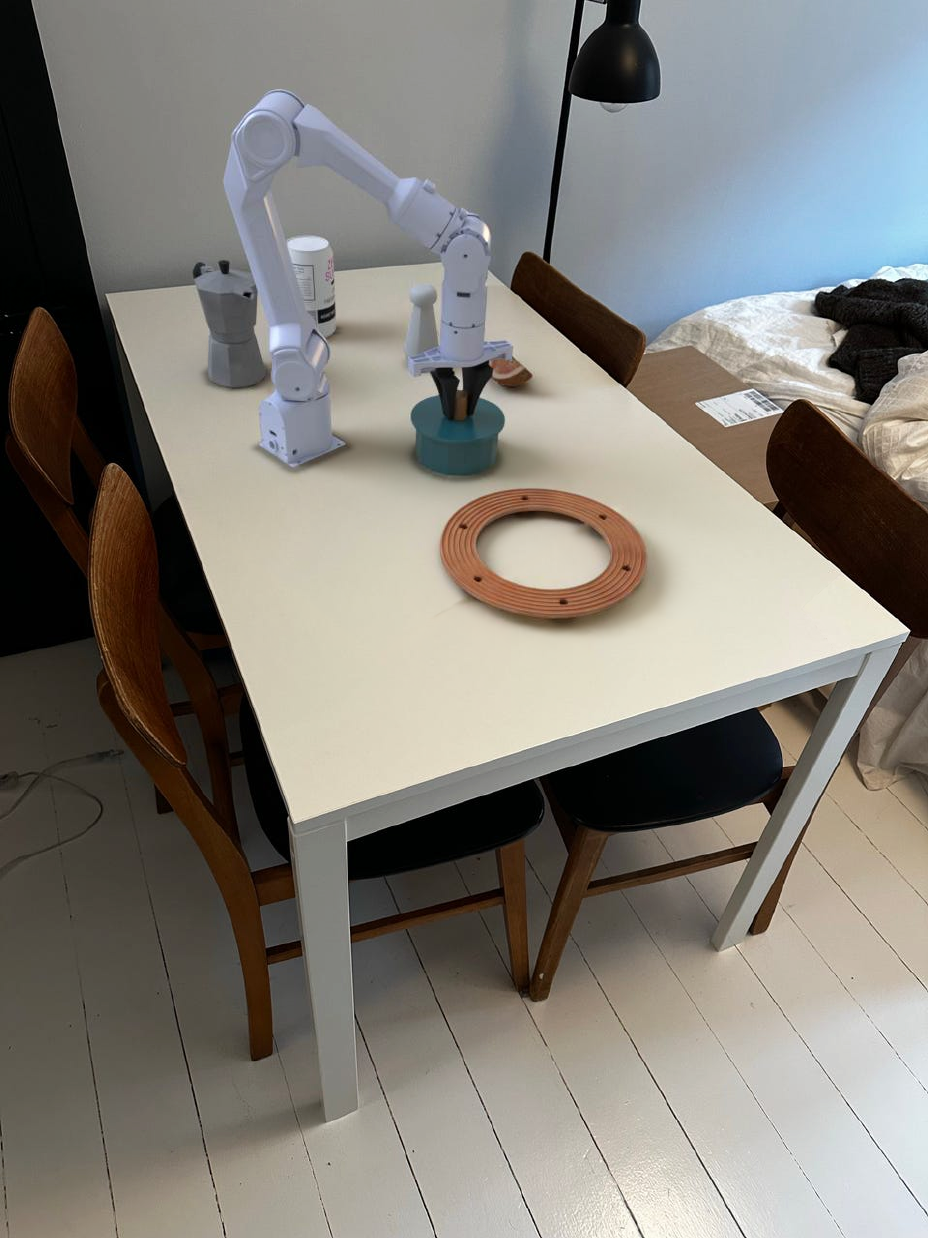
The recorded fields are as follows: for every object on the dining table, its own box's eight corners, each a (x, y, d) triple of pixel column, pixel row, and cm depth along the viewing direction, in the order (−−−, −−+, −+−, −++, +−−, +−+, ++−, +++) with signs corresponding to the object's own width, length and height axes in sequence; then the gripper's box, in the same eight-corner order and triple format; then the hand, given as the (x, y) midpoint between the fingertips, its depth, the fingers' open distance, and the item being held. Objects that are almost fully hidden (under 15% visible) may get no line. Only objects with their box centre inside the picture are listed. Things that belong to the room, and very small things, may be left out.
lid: (503, 451, 124) (505, 421, 121) (405, 443, 124) (406, 413, 121) (505, 404, 133) (508, 375, 130) (415, 397, 134) (415, 368, 131)
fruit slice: (539, 392, 148) (542, 363, 145) (501, 399, 146) (504, 370, 142) (514, 369, 153) (517, 341, 150) (478, 376, 151) (480, 347, 148)
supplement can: (282, 325, 162) (274, 236, 152) (327, 318, 165) (323, 231, 155) (296, 344, 156) (289, 254, 146) (342, 337, 159) (339, 249, 149)
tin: (455, 488, 126) (457, 449, 122) (398, 454, 132) (399, 416, 128) (512, 459, 132) (516, 421, 129) (455, 428, 138) (457, 391, 134)
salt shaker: (423, 376, 150) (425, 297, 142) (396, 364, 153) (396, 286, 144) (445, 363, 154) (449, 286, 145) (419, 353, 156) (420, 276, 148)
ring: (470, 643, 103) (472, 626, 101) (418, 513, 121) (418, 498, 120) (678, 612, 109) (682, 596, 107) (598, 492, 127) (601, 477, 125)
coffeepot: (286, 381, 146) (277, 267, 134) (235, 399, 141) (220, 282, 129) (231, 347, 154) (218, 236, 142) (181, 363, 149) (162, 249, 137)
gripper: (498, 299, 124) (491, 391, 133) (398, 314, 119) (397, 410, 128) (524, 320, 119) (514, 414, 128) (421, 337, 114) (419, 434, 123)
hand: (458, 414), depth 128 cm, fingers closed on lid, 2 cm apart
